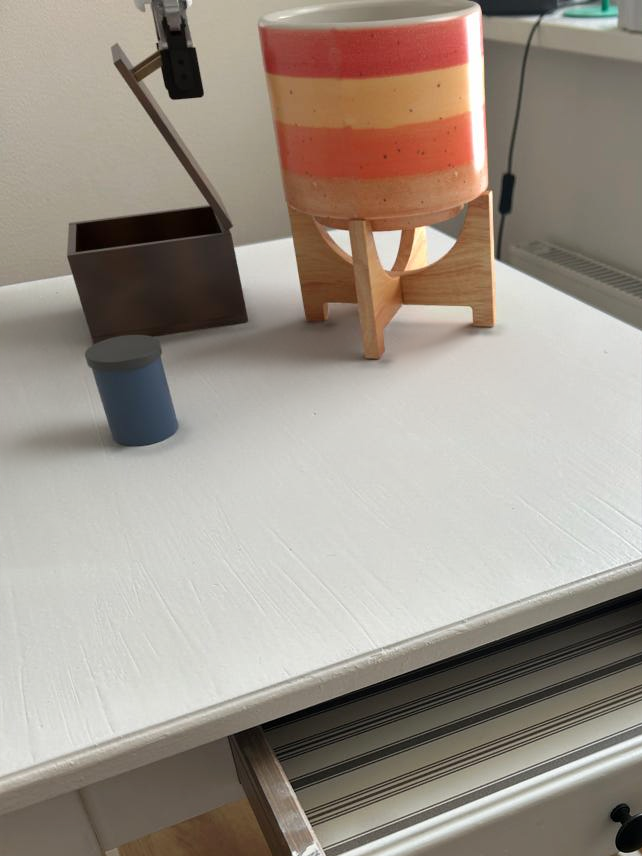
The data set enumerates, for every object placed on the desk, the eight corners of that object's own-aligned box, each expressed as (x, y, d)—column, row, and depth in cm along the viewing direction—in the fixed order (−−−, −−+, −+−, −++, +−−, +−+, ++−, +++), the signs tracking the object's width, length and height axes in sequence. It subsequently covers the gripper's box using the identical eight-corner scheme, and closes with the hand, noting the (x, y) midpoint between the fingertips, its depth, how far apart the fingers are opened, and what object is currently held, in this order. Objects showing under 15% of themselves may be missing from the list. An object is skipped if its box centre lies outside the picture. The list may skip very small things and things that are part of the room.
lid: (113, 63, 85) (167, 25, 85) (110, 47, 95) (159, 13, 95) (227, 230, 96) (276, 197, 96) (214, 201, 106) (258, 171, 105)
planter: (337, 287, 109) (299, 1, 93) (513, 290, 105) (505, -7, 89) (272, 355, 94) (212, 28, 77) (475, 363, 90) (457, 20, 74)
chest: (93, 345, 98) (66, 255, 93) (93, 306, 108) (68, 222, 103) (248, 321, 102) (231, 233, 96) (234, 285, 111) (218, 203, 106)
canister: (102, 449, 80) (75, 364, 75) (119, 418, 84) (95, 336, 80) (173, 444, 80) (151, 359, 75) (186, 414, 84) (166, 332, 80)
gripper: (90, -145, 88) (140, 84, 99) (91, -153, 75) (149, 111, 86) (175, -148, 90) (215, 78, 101) (190, -156, 77) (234, 103, 88)
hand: (184, 91), depth 94 cm, fingers closed on lid, 5 cm apart
